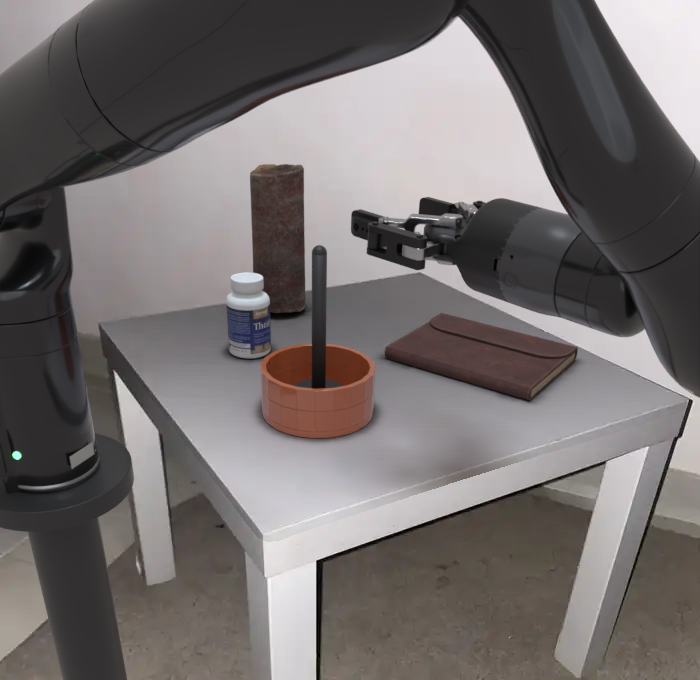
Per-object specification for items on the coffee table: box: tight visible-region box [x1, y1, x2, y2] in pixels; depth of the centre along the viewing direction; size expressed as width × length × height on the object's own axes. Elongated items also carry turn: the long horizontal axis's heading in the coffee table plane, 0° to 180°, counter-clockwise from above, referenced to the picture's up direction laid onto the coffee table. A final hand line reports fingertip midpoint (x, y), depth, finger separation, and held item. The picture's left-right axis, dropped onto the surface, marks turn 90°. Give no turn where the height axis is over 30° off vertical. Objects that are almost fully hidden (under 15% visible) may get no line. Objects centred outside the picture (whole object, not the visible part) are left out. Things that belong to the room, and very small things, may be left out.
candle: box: [249, 163, 306, 314], centre depth 106 cm, size 8×7×20 cm
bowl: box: [259, 343, 377, 439], centre depth 84 cm, size 12×12×6 cm
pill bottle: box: [225, 271, 272, 360], centre depth 96 cm, size 5×5×10 cm
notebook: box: [384, 312, 579, 402], centre depth 98 cm, size 15×20×2 cm
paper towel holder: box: [294, 244, 343, 389], centre depth 80 cm, size 6×6×18 cm
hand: (388, 214), depth 70 cm, fingers open, 8 cm apart
